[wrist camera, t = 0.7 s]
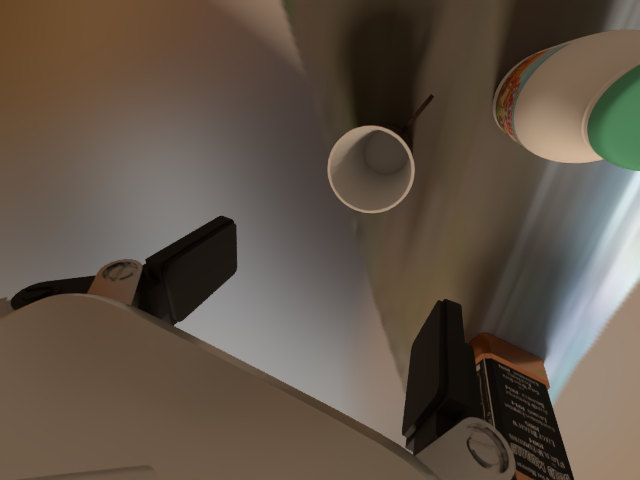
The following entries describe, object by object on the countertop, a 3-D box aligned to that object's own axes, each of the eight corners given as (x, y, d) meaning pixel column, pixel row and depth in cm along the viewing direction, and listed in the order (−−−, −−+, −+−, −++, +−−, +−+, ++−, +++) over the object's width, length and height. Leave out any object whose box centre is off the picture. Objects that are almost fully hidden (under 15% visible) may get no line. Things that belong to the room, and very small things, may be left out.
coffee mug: (369, 193, 38) (349, 223, 30) (342, 136, 35) (313, 151, 27) (458, 158, 31) (463, 183, 23) (432, 85, 29) (428, 85, 21)
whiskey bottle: (502, 392, 46) (577, 786, 20) (446, 363, 47) (450, 693, 22) (547, 361, 40) (737, 869, 14) (482, 330, 41) (545, 731, 16)
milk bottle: (563, 26, 23) (818, -98, 7) (607, 97, 24) (914, 122, 8) (475, 95, 28) (518, 110, 12) (516, 152, 29) (605, 237, 13)
